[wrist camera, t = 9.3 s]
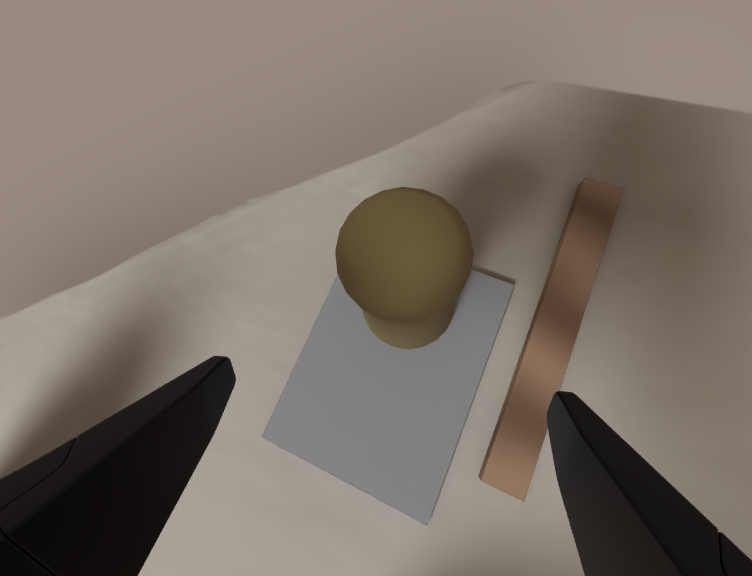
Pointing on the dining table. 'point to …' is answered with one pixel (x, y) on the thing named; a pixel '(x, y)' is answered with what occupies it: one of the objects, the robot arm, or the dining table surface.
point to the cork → (405, 264)
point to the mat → (387, 397)
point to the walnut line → (550, 340)
